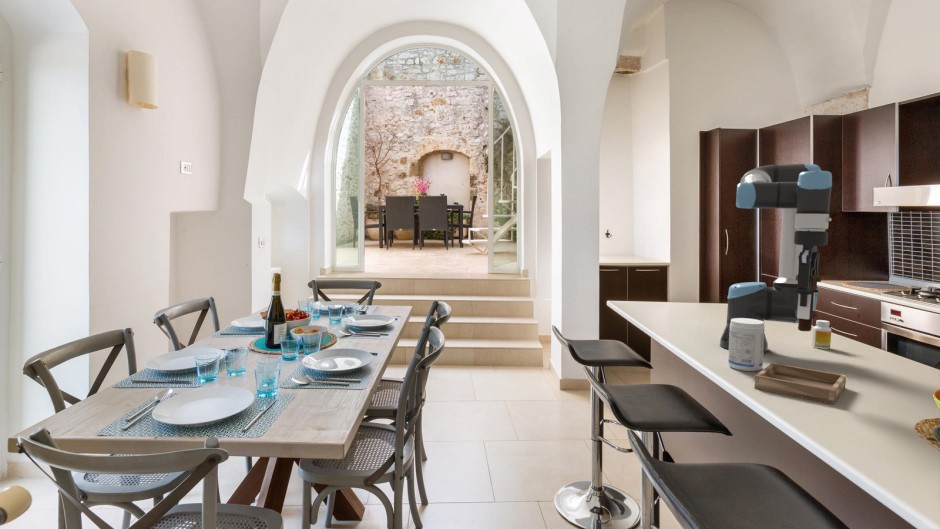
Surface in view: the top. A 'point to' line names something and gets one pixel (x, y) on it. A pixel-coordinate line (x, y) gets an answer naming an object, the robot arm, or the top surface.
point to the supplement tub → (746, 344)
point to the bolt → (806, 323)
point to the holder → (801, 382)
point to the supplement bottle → (822, 335)
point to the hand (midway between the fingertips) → (805, 317)
